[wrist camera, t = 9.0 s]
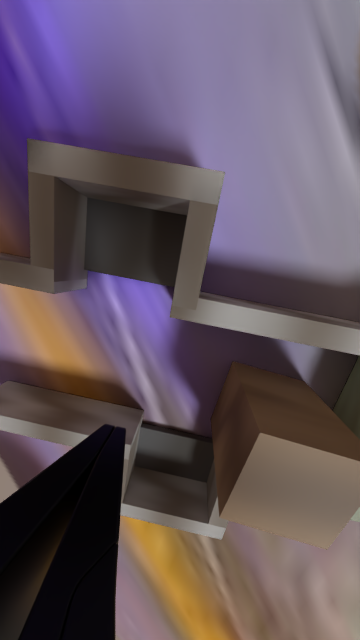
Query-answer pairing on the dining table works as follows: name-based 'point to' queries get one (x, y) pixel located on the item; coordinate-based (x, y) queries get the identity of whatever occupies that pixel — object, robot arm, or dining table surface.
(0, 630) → the robot arm
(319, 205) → the dining table surface
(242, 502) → the block
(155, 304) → the dining table surface
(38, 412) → the trap lane
